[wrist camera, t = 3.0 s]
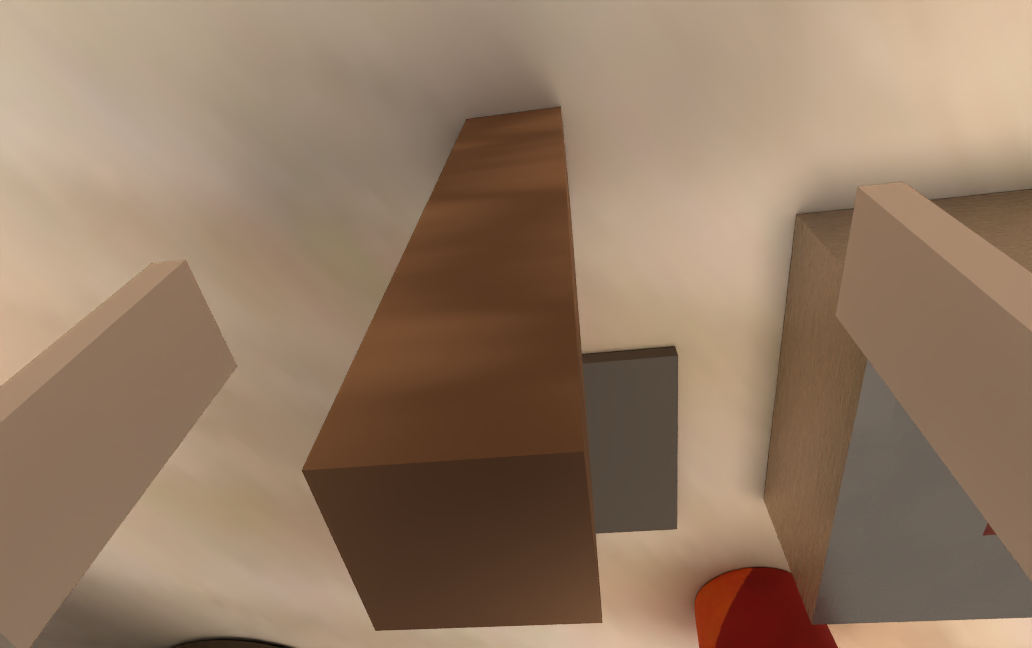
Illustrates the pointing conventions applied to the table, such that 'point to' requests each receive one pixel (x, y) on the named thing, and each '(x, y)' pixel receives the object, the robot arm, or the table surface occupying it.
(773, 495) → the grey block with hole
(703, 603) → the coffee cup
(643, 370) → the pad
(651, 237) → the table surface
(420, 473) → the rod
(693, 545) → the table surface
